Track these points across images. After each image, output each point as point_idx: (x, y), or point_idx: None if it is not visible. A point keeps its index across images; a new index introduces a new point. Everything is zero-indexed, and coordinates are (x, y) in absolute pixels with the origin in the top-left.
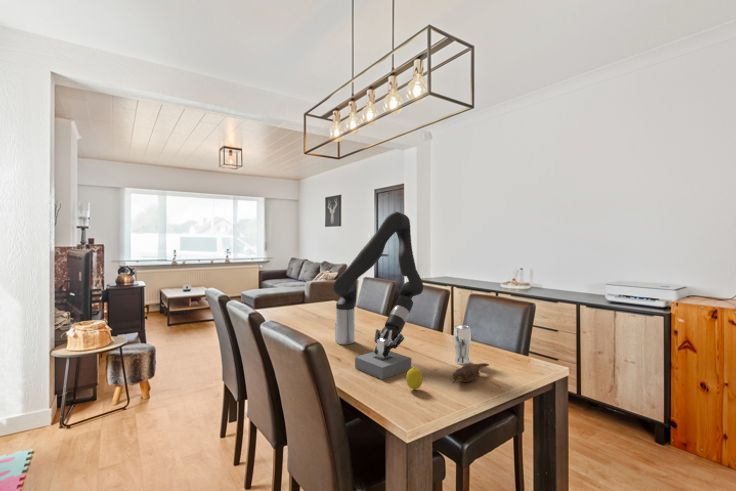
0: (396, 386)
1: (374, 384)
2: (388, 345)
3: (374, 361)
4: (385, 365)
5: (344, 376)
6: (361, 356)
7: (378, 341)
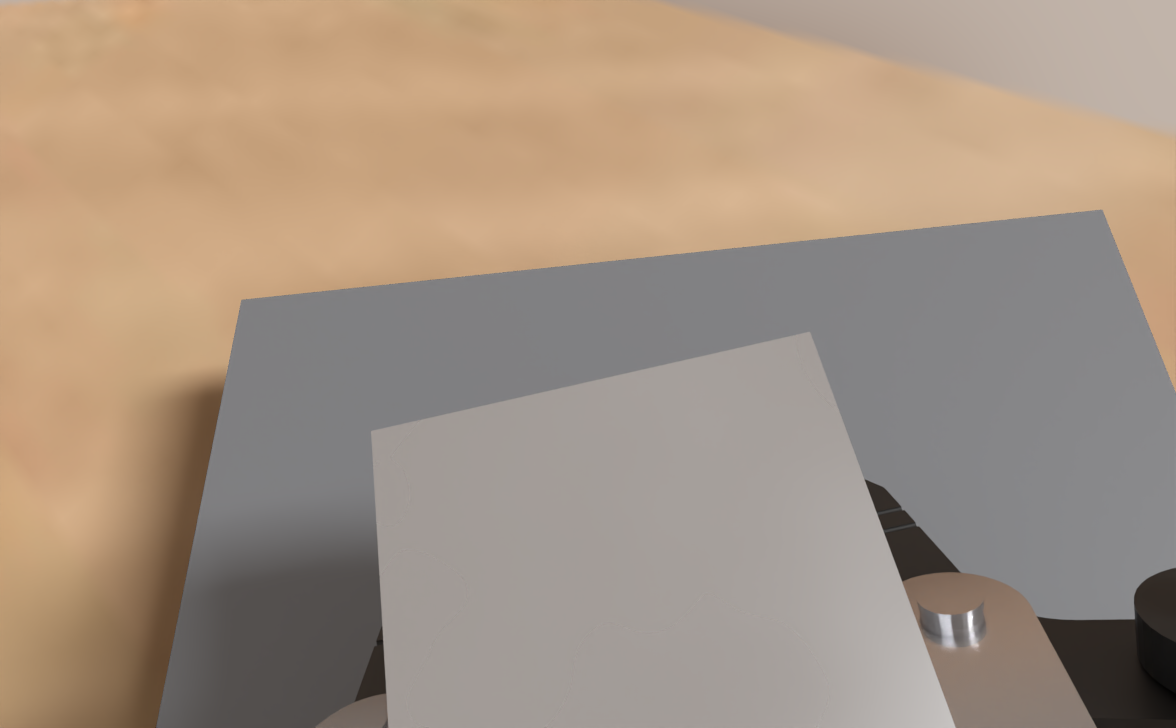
0: (45, 414)
1: (311, 239)
2: (346, 725)
3: (587, 372)
4: (260, 410)
5: (781, 84)
6: (1060, 328)
7: (699, 381)
